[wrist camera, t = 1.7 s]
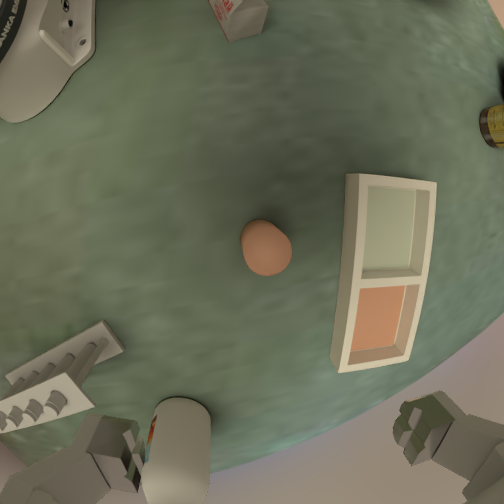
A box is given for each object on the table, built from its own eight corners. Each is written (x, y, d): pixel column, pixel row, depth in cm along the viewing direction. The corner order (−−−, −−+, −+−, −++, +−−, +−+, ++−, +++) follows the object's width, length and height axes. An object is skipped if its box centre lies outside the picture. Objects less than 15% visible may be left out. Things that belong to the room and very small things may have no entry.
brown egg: (240, 219, 30) (244, 228, 24) (279, 219, 30) (292, 228, 24) (240, 258, 31) (244, 276, 25) (278, 257, 31) (291, 275, 25)
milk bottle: (169, 386, 34) (144, 523, 14) (221, 410, 35) (227, 543, 16) (146, 418, 35) (119, 537, 16) (194, 439, 37) (189, 556, 17)
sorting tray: (345, 173, 30) (359, 173, 26) (418, 181, 31) (436, 182, 27) (329, 357, 35) (338, 373, 31) (395, 347, 36) (408, 360, 32)
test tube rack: (104, 319, 31) (55, 385, 18) (125, 348, 32) (89, 422, 19) (7, 373, 32) (-33, 420, 19) (23, 394, 33) (-12, 444, 20)
